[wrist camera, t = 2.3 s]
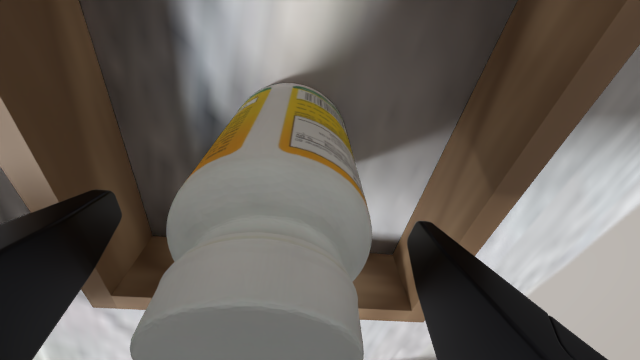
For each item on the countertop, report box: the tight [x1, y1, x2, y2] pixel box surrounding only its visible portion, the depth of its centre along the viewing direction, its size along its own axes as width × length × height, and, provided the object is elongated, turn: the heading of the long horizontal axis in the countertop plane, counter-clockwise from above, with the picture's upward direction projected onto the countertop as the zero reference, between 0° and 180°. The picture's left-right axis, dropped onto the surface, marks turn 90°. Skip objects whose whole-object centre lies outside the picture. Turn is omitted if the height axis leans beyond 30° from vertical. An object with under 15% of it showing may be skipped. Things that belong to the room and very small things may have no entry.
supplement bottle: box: [130, 83, 372, 360], centre depth 8 cm, size 5×5×10 cm
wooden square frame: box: [0, 0, 640, 322], centre depth 11 cm, size 18×18×4 cm
